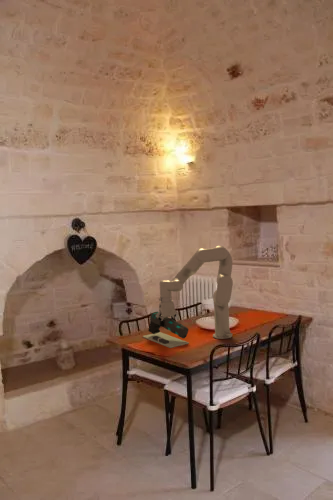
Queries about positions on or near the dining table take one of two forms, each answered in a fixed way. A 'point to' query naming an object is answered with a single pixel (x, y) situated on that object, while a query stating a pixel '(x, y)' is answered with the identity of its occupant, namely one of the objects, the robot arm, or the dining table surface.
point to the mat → (172, 340)
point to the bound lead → (160, 340)
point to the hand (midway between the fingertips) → (167, 325)
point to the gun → (167, 326)
